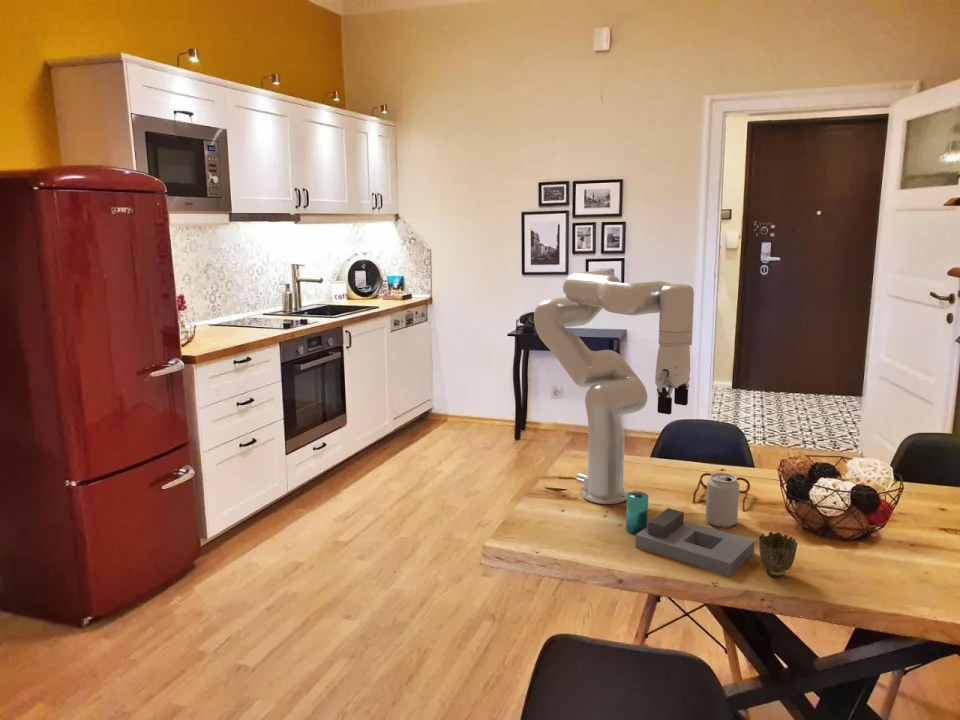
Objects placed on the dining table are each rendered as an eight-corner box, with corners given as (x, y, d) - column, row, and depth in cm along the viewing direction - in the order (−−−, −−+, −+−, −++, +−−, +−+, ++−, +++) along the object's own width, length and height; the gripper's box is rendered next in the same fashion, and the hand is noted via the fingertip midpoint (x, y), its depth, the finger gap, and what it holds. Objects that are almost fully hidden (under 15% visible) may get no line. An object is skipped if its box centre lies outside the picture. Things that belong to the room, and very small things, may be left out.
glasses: (749, 495, 192) (750, 477, 191) (744, 513, 181) (745, 494, 180) (699, 487, 198) (700, 470, 197) (691, 504, 186) (692, 487, 185)
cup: (772, 585, 144) (774, 549, 143) (749, 569, 151) (751, 534, 150) (802, 580, 147) (805, 544, 145) (778, 564, 153) (781, 529, 152)
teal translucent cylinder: (622, 531, 171) (623, 495, 169) (632, 524, 174) (633, 489, 172) (640, 536, 167) (642, 500, 166) (650, 529, 171) (652, 494, 169)
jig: (635, 546, 162) (636, 522, 161) (663, 526, 173) (664, 503, 171) (729, 577, 148) (731, 550, 147) (753, 552, 159) (755, 527, 157)
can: (739, 530, 170) (742, 483, 168) (706, 527, 172) (709, 481, 169) (734, 517, 177) (737, 471, 175) (703, 515, 179) (706, 470, 176)
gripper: (674, 331, 174) (672, 399, 177) (644, 341, 160) (642, 414, 164) (704, 334, 169) (701, 403, 172) (676, 344, 156) (673, 419, 159)
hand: (672, 408), depth 168 cm, fingers open, 9 cm apart
